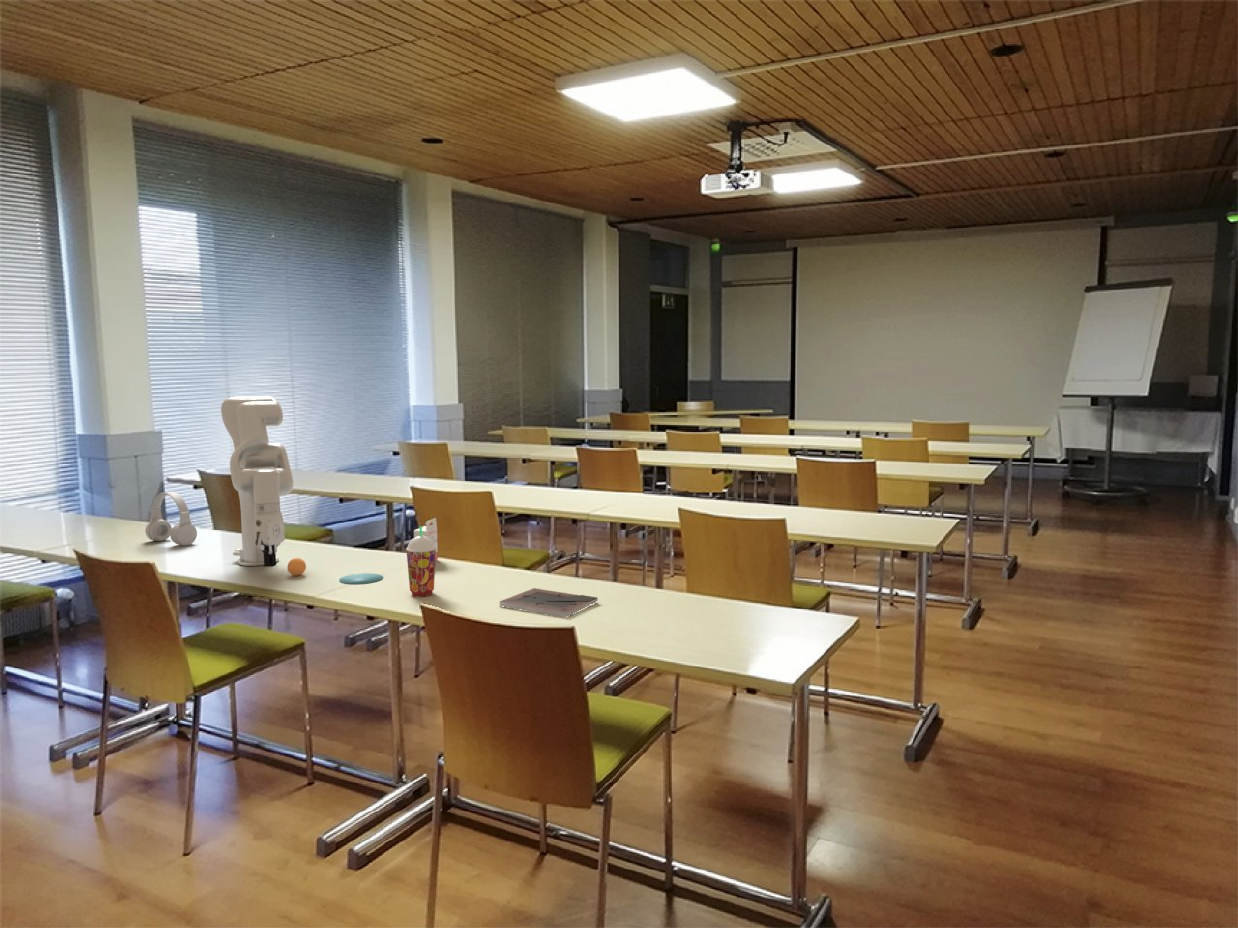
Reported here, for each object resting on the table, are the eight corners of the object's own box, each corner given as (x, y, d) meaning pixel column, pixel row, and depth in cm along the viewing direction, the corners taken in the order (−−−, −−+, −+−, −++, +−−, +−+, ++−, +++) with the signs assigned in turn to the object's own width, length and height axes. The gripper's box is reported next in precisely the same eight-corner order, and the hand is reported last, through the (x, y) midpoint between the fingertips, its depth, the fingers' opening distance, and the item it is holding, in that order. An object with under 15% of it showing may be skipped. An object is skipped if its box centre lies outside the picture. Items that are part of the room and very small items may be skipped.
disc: (331, 582, 257) (331, 582, 257) (352, 573, 270) (352, 572, 270) (370, 585, 255) (370, 584, 255) (390, 575, 267) (390, 574, 267)
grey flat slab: (597, 605, 236) (534, 595, 247) (597, 597, 236) (534, 587, 247) (565, 620, 222) (499, 609, 232) (565, 611, 222) (499, 600, 232)
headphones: (144, 542, 317) (141, 491, 315) (166, 538, 324) (163, 488, 322) (177, 548, 307) (174, 495, 305) (198, 544, 315) (196, 492, 312)
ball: (284, 577, 264) (283, 559, 264) (294, 572, 270) (293, 556, 269) (300, 577, 263) (299, 560, 263) (309, 573, 269) (309, 556, 268)
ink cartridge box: (424, 559, 291) (423, 517, 289) (438, 559, 290) (437, 517, 288) (413, 564, 282) (412, 521, 281) (427, 565, 281) (426, 521, 280)
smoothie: (405, 592, 247) (403, 524, 245) (433, 589, 250) (432, 522, 248) (409, 599, 239) (408, 529, 237) (439, 596, 243) (438, 527, 240)
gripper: (263, 511, 258) (266, 571, 259) (291, 505, 272) (294, 561, 274) (241, 511, 259) (244, 570, 261) (270, 505, 274) (273, 561, 275)
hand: (270, 565), depth 267 cm, fingers closed
